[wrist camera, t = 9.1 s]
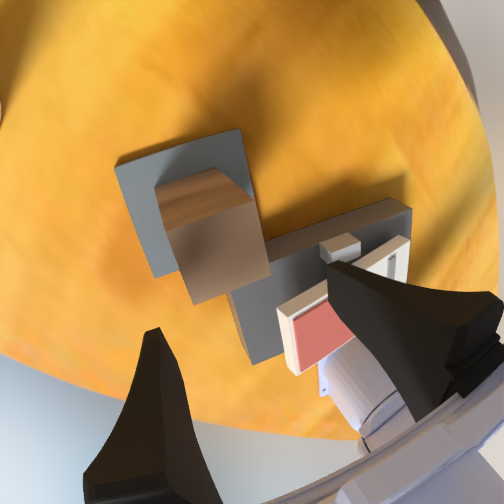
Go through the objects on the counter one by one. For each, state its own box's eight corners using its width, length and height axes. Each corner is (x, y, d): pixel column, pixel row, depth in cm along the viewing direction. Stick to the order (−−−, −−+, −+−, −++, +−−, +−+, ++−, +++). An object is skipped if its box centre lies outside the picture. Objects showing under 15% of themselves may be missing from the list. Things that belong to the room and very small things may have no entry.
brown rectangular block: (230, 223, 22) (271, 275, 16) (173, 243, 21) (193, 305, 15) (215, 167, 20) (255, 200, 14) (153, 188, 19) (165, 231, 13)
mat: (259, 236, 24) (262, 240, 23) (154, 274, 22) (154, 278, 21) (237, 128, 19) (240, 129, 19) (114, 166, 18) (113, 168, 17)
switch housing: (387, 279, 31) (415, 302, 27) (241, 344, 28) (259, 379, 24) (390, 196, 26) (425, 214, 23) (215, 257, 23) (233, 290, 19)
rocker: (394, 292, 27) (405, 299, 26) (287, 366, 23) (298, 377, 22) (398, 234, 24) (412, 240, 23) (276, 307, 20) (289, 319, 19)
